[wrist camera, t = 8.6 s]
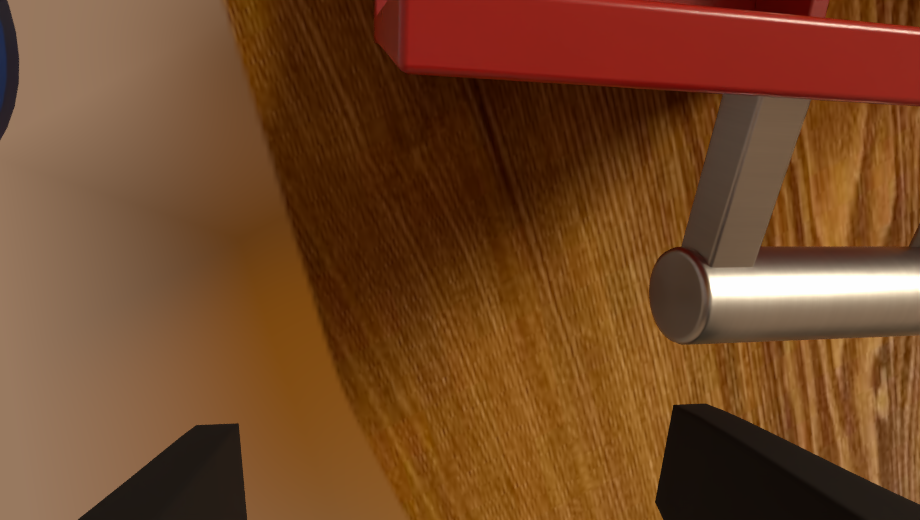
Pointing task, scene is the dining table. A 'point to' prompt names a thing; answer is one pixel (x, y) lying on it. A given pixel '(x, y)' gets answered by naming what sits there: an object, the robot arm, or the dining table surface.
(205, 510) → the robot arm
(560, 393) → the dining table surface
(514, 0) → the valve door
